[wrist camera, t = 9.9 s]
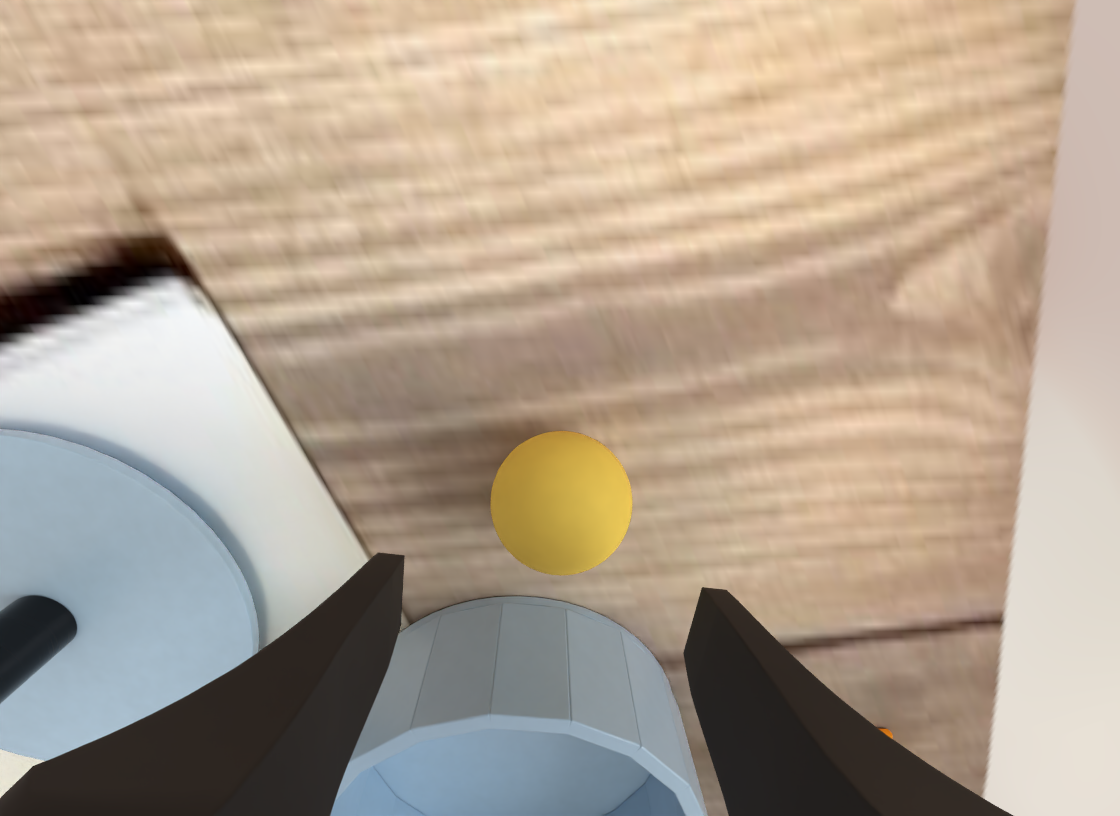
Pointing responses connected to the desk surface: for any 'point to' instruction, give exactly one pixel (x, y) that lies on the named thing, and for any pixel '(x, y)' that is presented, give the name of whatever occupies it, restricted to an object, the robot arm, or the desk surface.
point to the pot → (521, 720)
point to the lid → (104, 597)
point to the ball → (561, 503)
